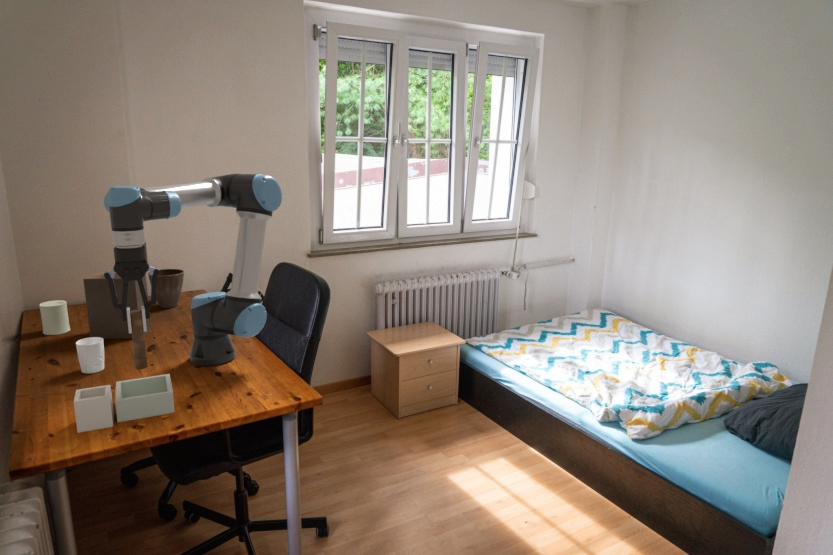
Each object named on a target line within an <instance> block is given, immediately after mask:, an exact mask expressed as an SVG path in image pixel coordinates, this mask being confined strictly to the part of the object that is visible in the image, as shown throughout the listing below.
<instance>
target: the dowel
mask: <svg viewBox="0 0 833 555" xmlns="http://www.w3.org/2000/svg"><path fill="white" fill-rule="evenodd" d="M130 317H131V327H132V338H131V339H132V346H133V348H132V349H133V355H134V356H133V358H134V367H135V370H144V369H147V368H148V358H147V349H146V348H147V347H146V338H145V335H144V329H143V318H142V310H133V311H130Z"/></svg>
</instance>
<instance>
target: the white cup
mask: <svg viewBox="0 0 833 555" xmlns="http://www.w3.org/2000/svg"><path fill="white" fill-rule="evenodd" d="M104 342H105V341H104V338H100V337H90V336H89V337H85V338H81V339H78V340H77V341H76V342H75V347H76V353H77V358H78V362H79V365H80V371H81V373H83V374H89V375H90V374H95V373H99V372H101V371H103V370H104V369H105V368H106V367H105V346H104V345H105V344H104Z"/></svg>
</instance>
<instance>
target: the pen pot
mask: <svg viewBox="0 0 833 555" xmlns="http://www.w3.org/2000/svg"><path fill="white" fill-rule="evenodd" d="M112 395H113V394H112V387H111V384H106V385H99V386H92V387H86V388H80V389H76V390H75V393H74V398H73V407H74V416H75V423H76V424H75V425H76V431H77V434H80V433H85V432H90V431H97V430H102V429H107V428H112V427H114V420H115V419H114V418H115V413H114V404H113V396H112Z"/></svg>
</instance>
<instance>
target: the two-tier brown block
mask: <svg viewBox="0 0 833 555" xmlns="http://www.w3.org/2000/svg"><path fill="white" fill-rule="evenodd" d="M143 245H144V246H145V248H146V259H147V263H148V264H149V260H148V252H147V250H148V249H147V243H146V241H145V243H144V244H143ZM147 272H150V271H149V270H148V271H147ZM114 275H115V276H114V278H113V280H114V284H115V289H116V293H117V298H118V302H119V303H122V290H123V279H122V278H121V277H120V276H119V275H118V274H117V273H116V272H115V273H114ZM142 279H143V283H144V287H145V290H146V294H147V298H148V299H149V294H148V285H147V283H148V281H147V273H146V274H145V275H144V276H143V278H142ZM82 280H83V282H82V283H83V289H84V297H85V304H86V312H87V320H88V321H87V322H88V329H89V334H88V336H89V338H90V337H100V338H103V339H132V333H130V334H129V329H128V321H123V318H122V310H121V309H118V308H114V307H113V302H112V298H111V293H110V288H109V284H108V281H107V279H106V278H105V277H104V272H95V273H93V274H91V275H89V276H86V277H85V278H83V279H82ZM141 306H144V303H143V300H142V296H141V292H140V289H139V285H138V281H135V280H132V281H128V293H127V308H128V307H130V311H133V310H142V308H141ZM146 327H147V332H144V336H145V335H147V334H148V333H149V332H150V331H151V330H152V322H151V318H150V319H146Z"/></svg>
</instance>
